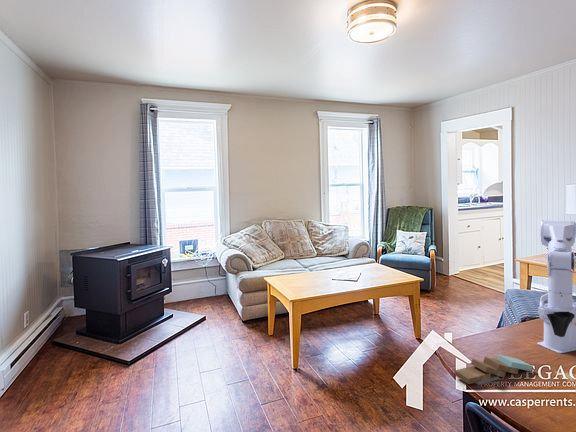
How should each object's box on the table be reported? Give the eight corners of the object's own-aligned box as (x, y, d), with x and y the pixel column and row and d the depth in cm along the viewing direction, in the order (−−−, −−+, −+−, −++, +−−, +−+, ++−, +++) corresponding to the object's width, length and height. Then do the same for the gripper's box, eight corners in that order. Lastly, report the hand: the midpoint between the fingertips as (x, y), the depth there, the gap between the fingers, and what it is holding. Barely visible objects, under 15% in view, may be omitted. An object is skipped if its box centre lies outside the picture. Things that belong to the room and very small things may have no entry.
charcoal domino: (483, 368, 105) (463, 373, 102) (498, 376, 100) (478, 382, 97) (483, 373, 105) (463, 379, 102) (498, 381, 100) (478, 387, 97)
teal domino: (517, 358, 108) (498, 354, 106) (532, 366, 103) (512, 361, 101) (516, 363, 108) (496, 359, 106) (531, 371, 103) (510, 367, 101)
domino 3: (503, 361, 107) (484, 356, 105) (518, 369, 102) (499, 364, 100) (502, 366, 107) (483, 361, 105) (517, 374, 102) (497, 369, 100)
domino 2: (491, 364, 105) (472, 358, 103) (506, 372, 101) (486, 366, 98) (489, 369, 105) (470, 363, 103) (504, 377, 100) (485, 371, 98)
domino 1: (476, 365, 103) (454, 370, 101) (490, 373, 99) (468, 378, 96) (476, 370, 103) (454, 375, 101) (490, 378, 99) (468, 384, 96)
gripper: (554, 297, 97) (554, 344, 98) (592, 292, 101) (591, 337, 101) (531, 291, 104) (530, 334, 104) (567, 286, 107) (567, 328, 108)
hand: (559, 335), depth 103 cm, fingers closed
